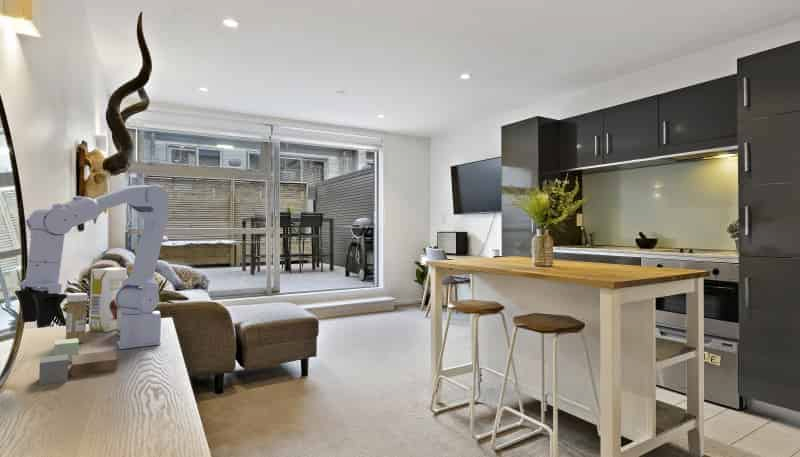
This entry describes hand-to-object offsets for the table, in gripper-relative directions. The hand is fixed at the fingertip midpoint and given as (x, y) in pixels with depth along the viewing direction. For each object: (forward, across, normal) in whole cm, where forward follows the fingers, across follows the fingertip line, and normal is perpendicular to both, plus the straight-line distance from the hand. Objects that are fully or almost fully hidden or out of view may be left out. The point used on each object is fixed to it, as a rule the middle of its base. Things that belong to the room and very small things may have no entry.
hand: (36, 323), depth 93 cm
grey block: (+10, +9, +1) cm, 14 cm away
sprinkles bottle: (+9, -19, +16) cm, 27 cm away
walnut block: (+10, +8, +9) cm, 16 cm away
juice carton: (+8, -30, +28) cm, 42 cm away
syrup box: (+8, -18, +30) cm, 36 cm away
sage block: (+10, -4, +8) cm, 13 cm away
